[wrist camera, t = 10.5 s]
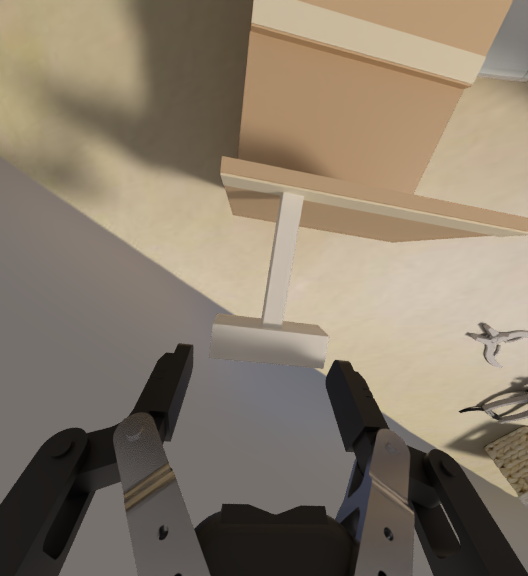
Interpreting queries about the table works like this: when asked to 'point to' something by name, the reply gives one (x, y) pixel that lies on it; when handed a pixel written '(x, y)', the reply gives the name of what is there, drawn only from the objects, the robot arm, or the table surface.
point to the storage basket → (513, 460)
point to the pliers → (496, 341)
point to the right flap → (334, 218)
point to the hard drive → (509, 47)
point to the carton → (360, 83)
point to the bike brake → (504, 402)
